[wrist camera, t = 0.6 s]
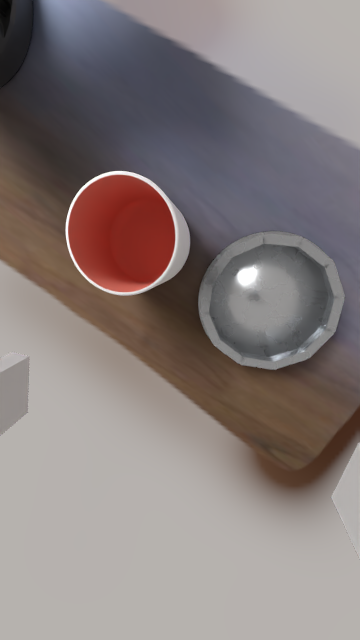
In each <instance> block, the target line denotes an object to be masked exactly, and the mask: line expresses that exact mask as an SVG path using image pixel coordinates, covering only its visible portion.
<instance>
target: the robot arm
mask: <svg viewBox="0 0 360 640" xmlns="http://www.w3.org/2000/svg"><path fill="white" fill-rule="evenodd" d="M32 25H33V4H32V0H0V87H1V86H3V85H4V84H5V83H7V82H8V81H9V80H10V79H11V78H12V77H13V76H14V74H15V73H16V72H17V70H18V69H19V67H20V66H21V64H22V62H23V60H24V58H25V55H26V53H27V50H28V47H29V43H30V39H31V33H32ZM28 383H29V356H26V355H23V354H19V353H15V352H11V353H9V354H7V355H5V356H3V357H1V358H0V436H1V435H2V434H3V433H4V432H5V431H7V430H8V429H9V428H10V427H11V426H12V425H13V424H15V423H16V422H17V421H18V420H19V419H21V418H22V417H23V416H24V415H25V414H26V413H27V411H28ZM331 499H332V501H333V503H334V505H335V507H336V510H337V511H338V514H339V516H340V518H341V520H342V522H343V525H344V527H345V529H346V531H347V533H348V535H349V537H350V540H351V542H352V544H353V546H354V548H355V550H356V553H357V555H358V557H359V559H360V443H358V445H357V447H356V449H355V451H354V453H353V455H352V457H351V459H350V460H349V462H348V464H347V466H346V468H345V470H344V472H343V475H342V477H341V478H340V480H339V482H338V484H337V486H336V488H335V491H334V492H333V494H332V496H331Z"/></svg>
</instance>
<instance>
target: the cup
mask: <svg viewBox="0 0 360 640" xmlns="http://www.w3.org/2000/svg"><path fill="white" fill-rule="evenodd" d="M66 240H67V245H68V249H69V252H70V255H71V258H72V260H73V262H74V264H75V265H76V267H77V269H78V270H79V271H80V273H81V274H82V275H83V276H84V277H85V278H86V279H87V280H88V281H89V282H90V283H91V284H93V285H94V286H96V287H97V288H99V289H101V290H103V291H105V292H108V293H111V294H115V295H135V294H140V293H143V292H145V291H147V290H149V289H152V288H154V287H156V286H158V285H160V284H162V283H164V282H166V281H168V280H170V279H171V278H173V277H174V276H175V275H176V274H177V273H178V272H179V271H180V270H181V269H182V267H183V266H184V264H185V262H186V260H187V257H188V254H189V250H190V233H189V228H188V225H187V223H186V221H185V218H184V217H183V215H182V214H181V212H180V211H179V210H178V209H177V207H176V206H175V205H174V204H173V203H172V202H171V200H170V199H169V198H168V197H167V196H166V195H165V193H164V192H163V191H162V190H161V189H160V188H159V187H158V186H157V185H156V184H155V183H153V182H152V181H150V180H149V179H147V178H145V177H143V176H141V175H139V174H136V173H132V172H127V171H113V172H108V173H104V174H101V175H99V176H97V177H95V178H93V179H92V180H90V181H89V182H87V183H86V184H85V185H84V186H83V187H82V188H81V189H80V190H79V192H78V193H77V194H76V196H75V198H74V199H73V201H72V203H71V206H70V209H69V212H68V215H67V221H66Z"/></svg>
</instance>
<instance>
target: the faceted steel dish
mask: <svg viewBox="0 0 360 640" xmlns="http://www.w3.org/2000/svg"><path fill="white" fill-rule="evenodd" d="M344 296H345V294H344V291H343V288H342V285H341V281H340V278H339V275H338V272H337V269H336V266H335V262H334V261H333V260H332V259H331V258H330V257H328V256H327V255H326V254H325V253H324V252H323V251H322V250H321V249H320V248H319V247H318V246H317V245H315V244H314V243H312V242H311V241H309V240H307V239H305V238H303V237H301V236H298V235H295V234H292V233H287V232H281V231H268V232H260V233H255V234H251V235H249V236H246V237H243V238H241V239H239V240H237V241H235V242H233V243H232V244H231V245H229V246H228V247H226V248H225V249H224V250H223V251H222V252H221V253H219V254H218V256H217V257H216V258H215V259H214V260H213V261H212V263H211V264H210V266H209V267H208V269H207V271H206V273H205V275H204V277H203V280H202V283H201V286H200V290H199V298H198V308H199V315H200V320H201V323H202V325H203V328H204V330H205V332H206V334H207V336H208V337H209V338H210V340H211V341H212V344H213V345H214V346H216V347H217V348H218V349H219V350H220V351H222V352H223V353H224V354H226V355H227V356H229V357H230V358H232V359H233V360H234V361H236V362H237V363H238V364H240V365H246V366H252V367H258V368H265V369H271V370H273V369H274V370H275V369H278V368H282V367H285V366H288V365H291V364H294V363H297V362H300V361H304V360H307V359H308V358H310V357H311V356H312V355H313V354H314V353H315V352H316V351H317V350H318V349H319V348H320V347H321V346H322V345H323V344H324V343H325V342H326V341H327V340H328V339H329V338H330V337H331V336H332V335H333V334H334V332H336V328H337V325H338V321H339V317H340V314H341V310H342V307H343V303H344V300H345V297H344Z"/></svg>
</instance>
